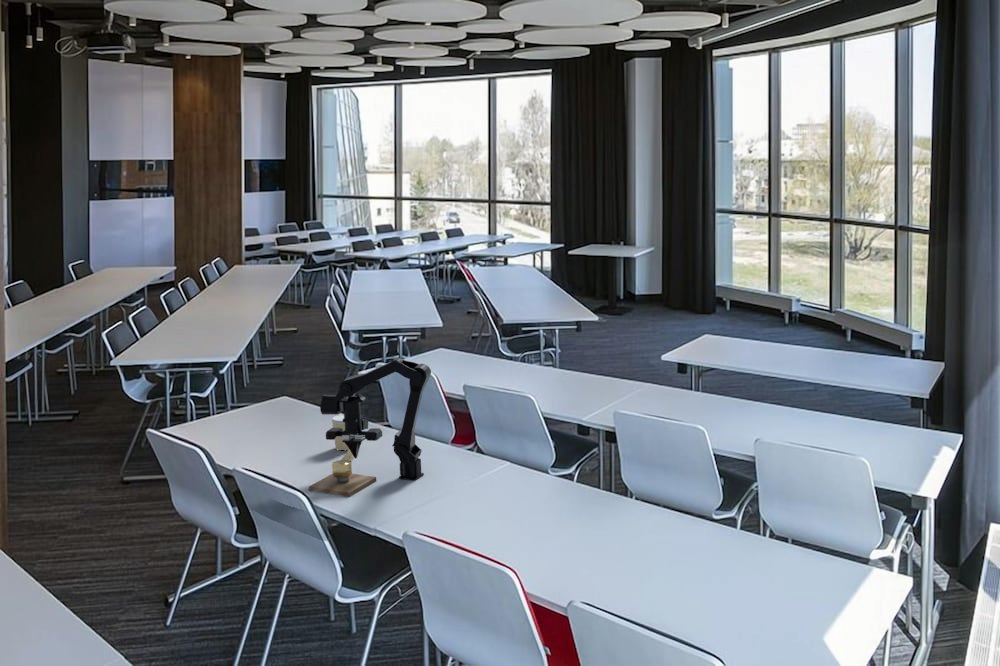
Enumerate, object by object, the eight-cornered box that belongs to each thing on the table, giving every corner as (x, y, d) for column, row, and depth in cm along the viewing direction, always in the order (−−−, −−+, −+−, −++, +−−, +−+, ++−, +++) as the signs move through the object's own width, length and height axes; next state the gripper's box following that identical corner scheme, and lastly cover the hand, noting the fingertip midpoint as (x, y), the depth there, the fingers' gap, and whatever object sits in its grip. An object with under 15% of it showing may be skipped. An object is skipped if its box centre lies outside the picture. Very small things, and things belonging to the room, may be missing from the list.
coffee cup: (356, 451, 344) (354, 420, 342) (331, 452, 344) (329, 421, 342) (360, 444, 353) (358, 414, 351) (336, 444, 353) (334, 414, 351)
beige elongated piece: (349, 477, 303) (348, 466, 302) (330, 477, 303) (329, 466, 302) (361, 460, 320) (361, 449, 320) (343, 460, 321) (342, 449, 320)
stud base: (376, 481, 311) (375, 470, 310) (349, 496, 296) (349, 485, 296) (336, 475, 317) (336, 465, 317) (308, 490, 303) (308, 480, 302)
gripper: (386, 408, 319) (389, 451, 321) (336, 407, 323) (340, 450, 326) (374, 417, 308) (377, 461, 311) (323, 416, 313) (327, 460, 315)
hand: (355, 458), depth 316 cm, fingers closed
